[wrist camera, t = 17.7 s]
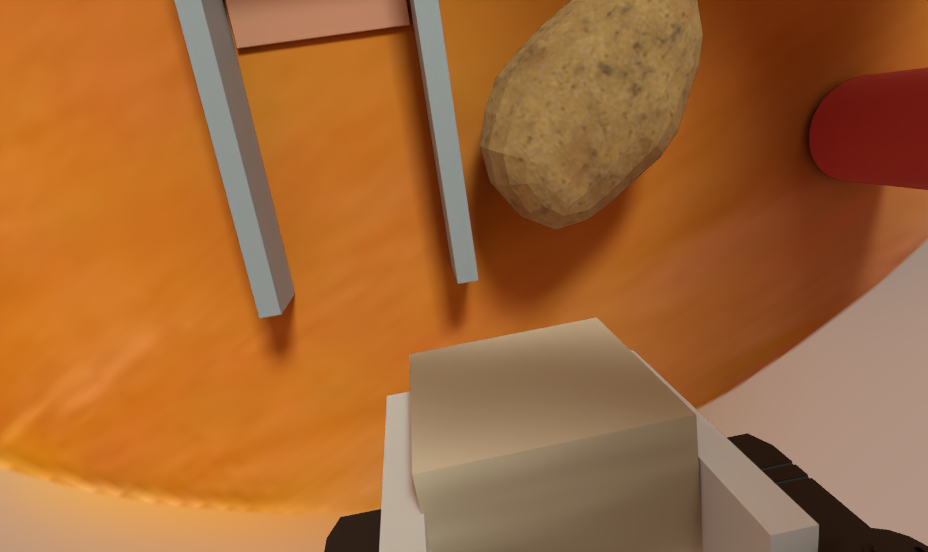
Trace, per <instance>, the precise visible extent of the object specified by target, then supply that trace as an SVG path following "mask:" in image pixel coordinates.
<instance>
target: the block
mask: <svg viewBox="0 0 928 552" xmlns="http://www.w3.org/2000/svg"><path fill="white" fill-rule="evenodd" d="M409 359H410V401H411V444H412V476H413V480H414V485H415V489H416V494H417V498H418V502H419V507H420V511H421V514H424V517H425V522H426V527H427V532H428V537H429V542H430V547H431V552H703V543H702V523H701V502H700V481H699V460H698V439H697V418H696V414H695V413H694V412H693V411H692V410H691V409H690V408H689V407H688V406H687V405H686V404H685V403H684V402H683V401H682V400H681V399H680V398H679V397H678V396H677V395H676V394H675V393H674V392H673V391H672V390H671V389H670V388H669V387H668V386H667V385H665V384H664V383H663V382H662V381H661V380H660V379H659V378H658V377H657V376H656V375H655V374H654V373H653V372H652V371H651V370H650V369H649V368H648V367H647V366H646V365H645V364H644V363H643V362H642V361H641V360H640V359H639V358H638V357H637V356H636V355H635V354H634V353H633V352H632V351H631V350H630V349H629V348H628V347H627V346H625V345H624V344H623V343H622V342H621V341H620V340H619V339H618V338H617V337H616V336H615V335H614V334H613V333H612V332H611V331H610V330H609V329H608V328H607V327H606V326H605V325H604V324H603V323H602V322H601V321H600V320H599V319H598V318H597V317H596V318H591V319H586V320H581V321H576V322H571V323H566V324H561V325H556V326H551V327H546V328H540V329H535V330H530V331H525V332H520V333H515V334H510V335H505V336H500V337H495V338H490V339H485V340H480V341H475V342H470V343H464V344H459V345H454V346H449V347H444V348H439V349H434V350H429V351H424V352H419V353H414V354H409Z"/></svg>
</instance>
